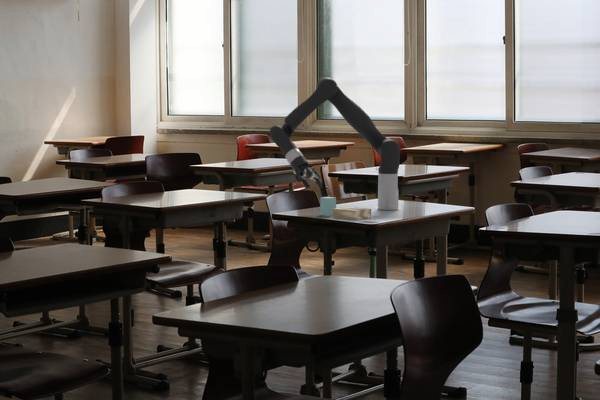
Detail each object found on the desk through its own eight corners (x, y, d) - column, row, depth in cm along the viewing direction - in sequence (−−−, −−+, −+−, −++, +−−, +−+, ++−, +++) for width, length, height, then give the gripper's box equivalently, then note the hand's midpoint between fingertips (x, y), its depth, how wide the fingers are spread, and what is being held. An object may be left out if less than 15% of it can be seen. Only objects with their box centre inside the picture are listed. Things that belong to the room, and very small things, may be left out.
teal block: (327, 214, 456) (327, 196, 455) (335, 215, 452) (336, 197, 452) (320, 215, 452) (320, 197, 451) (328, 216, 449) (328, 198, 448)
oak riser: (350, 215, 451) (350, 206, 451) (371, 217, 443) (371, 208, 443) (332, 217, 442) (333, 208, 442) (354, 220, 434) (354, 210, 434)
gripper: (290, 155, 456) (309, 182, 449) (311, 154, 466) (329, 180, 460) (282, 166, 460) (300, 193, 453) (303, 165, 470) (321, 191, 464)
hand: (315, 186), depth 456 cm, fingers open, 8 cm apart
